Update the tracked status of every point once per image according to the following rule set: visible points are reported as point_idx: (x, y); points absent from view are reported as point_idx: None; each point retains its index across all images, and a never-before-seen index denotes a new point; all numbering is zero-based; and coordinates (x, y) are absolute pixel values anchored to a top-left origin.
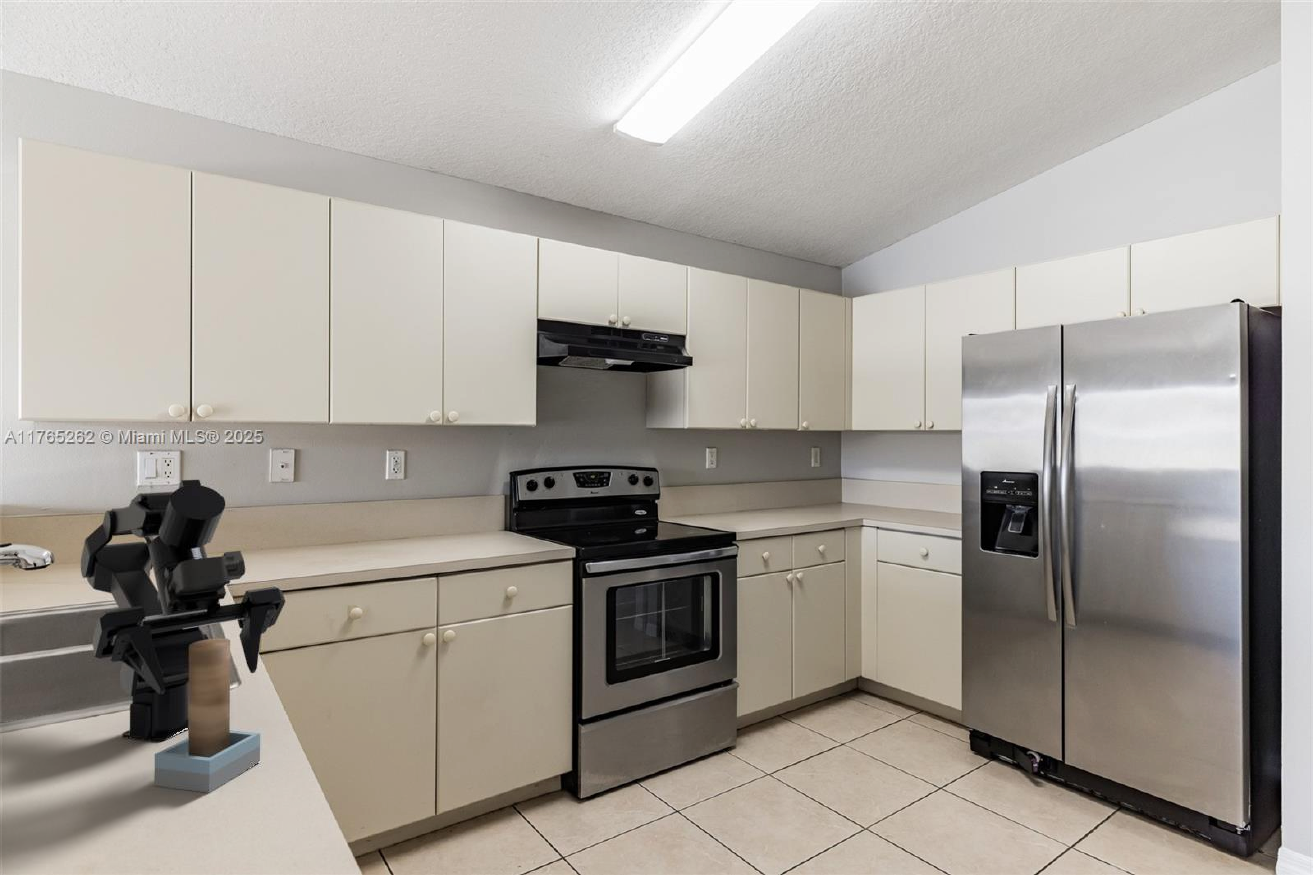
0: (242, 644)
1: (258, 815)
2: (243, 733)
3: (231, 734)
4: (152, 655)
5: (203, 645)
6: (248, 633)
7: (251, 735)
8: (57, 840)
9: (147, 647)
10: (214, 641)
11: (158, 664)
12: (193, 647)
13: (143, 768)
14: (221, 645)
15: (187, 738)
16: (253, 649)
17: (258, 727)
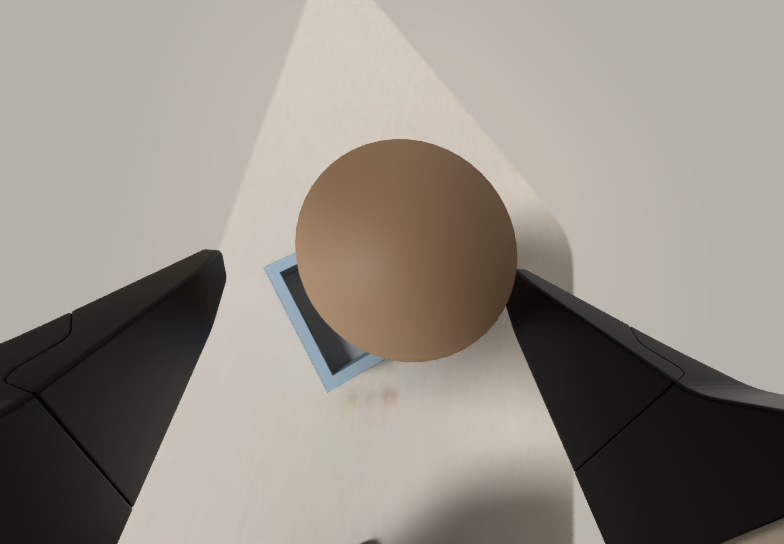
0: (128, 503)
1: (349, 118)
2: (288, 295)
3: (304, 320)
4: (633, 344)
5: (454, 223)
6: (76, 402)
7: (281, 270)
8: (535, 257)
9: (696, 377)
10: (380, 267)
11: (579, 316)
12: (502, 229)
13: (418, 424)
14: (380, 142)
15: (379, 361)
16: (157, 289)
17: (185, 486)
